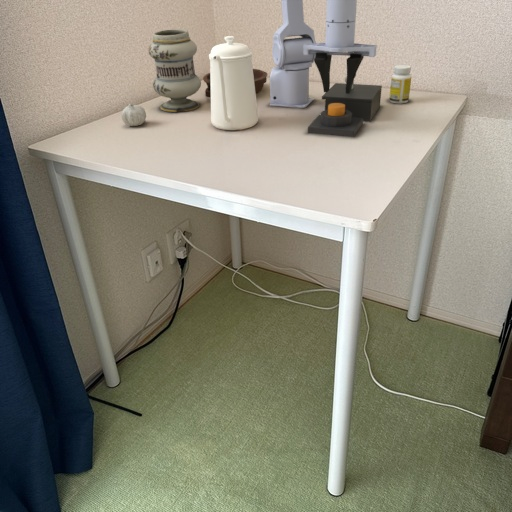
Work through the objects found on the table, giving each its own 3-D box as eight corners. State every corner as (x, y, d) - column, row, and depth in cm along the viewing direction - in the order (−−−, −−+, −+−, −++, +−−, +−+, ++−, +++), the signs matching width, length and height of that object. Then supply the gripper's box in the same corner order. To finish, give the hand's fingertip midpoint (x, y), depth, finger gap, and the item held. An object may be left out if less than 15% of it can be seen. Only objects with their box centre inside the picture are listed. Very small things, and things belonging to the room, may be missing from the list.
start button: (325, 116, 105) (326, 106, 104) (330, 111, 108) (330, 102, 107) (342, 117, 104) (343, 108, 103) (346, 112, 106) (346, 103, 105)
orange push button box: (307, 133, 106) (308, 117, 104) (319, 121, 113) (319, 105, 111) (353, 137, 102) (354, 121, 100) (362, 124, 109) (363, 108, 107)
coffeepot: (195, 142, 104) (185, 47, 93) (225, 108, 124) (219, 28, 114) (245, 144, 101) (240, 47, 91) (267, 109, 122) (265, 27, 112)
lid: (321, 99, 112) (322, 79, 110) (335, 86, 122) (336, 67, 119) (371, 102, 108) (373, 81, 106) (381, 88, 118) (383, 68, 115)
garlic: (134, 130, 112) (130, 107, 110) (118, 126, 115) (114, 104, 112) (152, 122, 117) (149, 100, 114) (136, 119, 119) (132, 98, 116)
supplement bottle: (406, 98, 125) (411, 64, 121) (409, 103, 121) (414, 68, 117) (387, 98, 126) (391, 64, 121) (390, 104, 122) (394, 68, 117)
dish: (185, 97, 135) (183, 78, 132) (241, 81, 148) (240, 63, 146) (230, 107, 125) (229, 87, 122) (285, 89, 138) (285, 70, 135)
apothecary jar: (159, 116, 121) (147, 37, 111) (154, 103, 131) (142, 30, 121) (207, 110, 124) (200, 32, 114) (198, 98, 133) (191, 26, 124)
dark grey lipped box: (324, 118, 114) (325, 99, 112) (337, 103, 124) (338, 86, 121) (370, 122, 110) (371, 102, 108) (379, 106, 120) (381, 88, 118)
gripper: (299, 23, 95) (298, 94, 102) (374, 24, 90) (368, 98, 98) (309, 18, 101) (308, 86, 108) (380, 19, 96) (374, 90, 103)
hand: (337, 91), depth 103 cm, fingers open, 4 cm apart
